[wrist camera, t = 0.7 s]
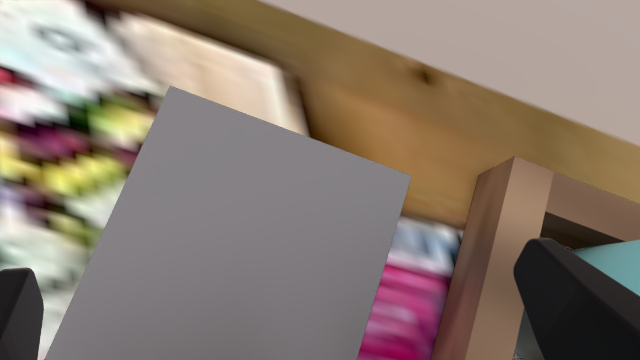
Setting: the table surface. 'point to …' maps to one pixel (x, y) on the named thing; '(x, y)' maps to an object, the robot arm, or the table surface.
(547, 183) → the walnut frame
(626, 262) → the teal jar
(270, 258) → the gray rectangular panel
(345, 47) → the table surface
